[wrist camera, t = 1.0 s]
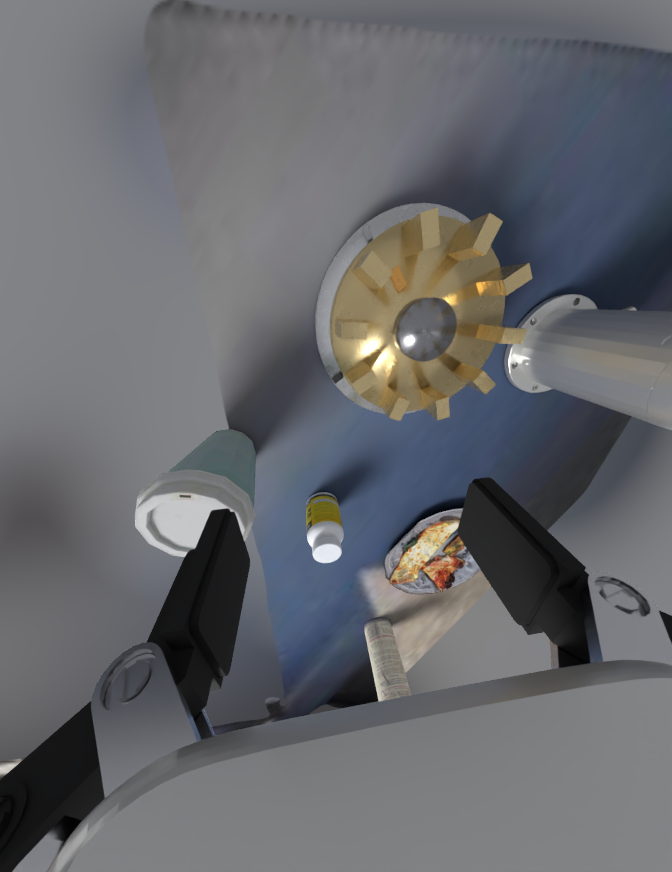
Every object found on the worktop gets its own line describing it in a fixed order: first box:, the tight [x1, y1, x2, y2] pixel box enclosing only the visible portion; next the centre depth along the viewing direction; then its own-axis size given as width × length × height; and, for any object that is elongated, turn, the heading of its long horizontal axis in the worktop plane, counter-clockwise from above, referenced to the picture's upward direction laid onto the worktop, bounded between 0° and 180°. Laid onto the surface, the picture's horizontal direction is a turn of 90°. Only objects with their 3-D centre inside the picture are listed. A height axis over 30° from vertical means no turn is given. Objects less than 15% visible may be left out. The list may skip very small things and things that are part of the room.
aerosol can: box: [364, 618, 411, 701], centre depth 56 cm, size 7×7×20 cm
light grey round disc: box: [315, 203, 492, 413], centre depth 31 cm, size 22×22×2 cm
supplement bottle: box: [306, 492, 344, 563], centre depth 39 cm, size 5×5×10 cm
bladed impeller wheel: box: [330, 207, 532, 421], centre depth 27 cm, size 19×19×6 cm
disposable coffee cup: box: [135, 429, 256, 557], centre depth 30 cm, size 11×11×15 cm
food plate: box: [384, 508, 481, 594], centre depth 52 cm, size 25×23×4 cm
